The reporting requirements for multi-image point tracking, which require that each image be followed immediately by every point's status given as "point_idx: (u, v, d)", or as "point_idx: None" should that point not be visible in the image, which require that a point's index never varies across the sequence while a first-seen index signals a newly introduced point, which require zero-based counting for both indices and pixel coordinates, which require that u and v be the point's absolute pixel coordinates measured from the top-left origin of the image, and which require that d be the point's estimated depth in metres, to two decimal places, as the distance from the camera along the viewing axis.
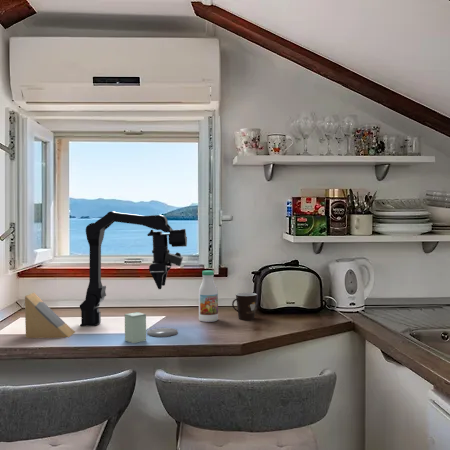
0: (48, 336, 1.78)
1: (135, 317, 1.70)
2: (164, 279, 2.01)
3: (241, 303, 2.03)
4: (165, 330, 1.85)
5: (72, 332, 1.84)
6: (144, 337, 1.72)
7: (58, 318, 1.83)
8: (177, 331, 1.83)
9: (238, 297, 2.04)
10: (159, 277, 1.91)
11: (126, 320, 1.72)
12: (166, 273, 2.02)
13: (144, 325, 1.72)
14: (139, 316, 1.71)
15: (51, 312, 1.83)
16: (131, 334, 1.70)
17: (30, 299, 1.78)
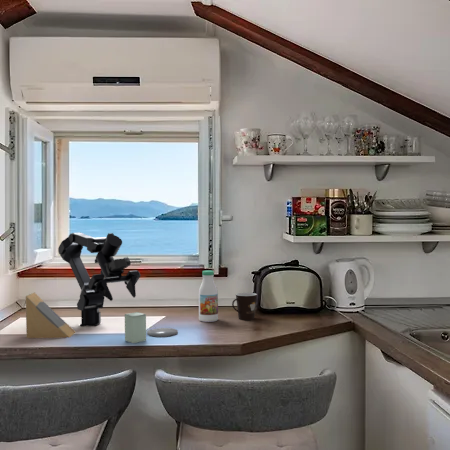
0: (49, 336, 1.78)
1: (135, 317, 1.70)
2: (132, 290, 1.83)
3: (241, 303, 2.03)
4: (165, 330, 1.85)
5: (73, 332, 1.84)
6: (144, 337, 1.72)
7: (59, 318, 1.83)
8: (177, 331, 1.83)
9: (238, 297, 2.04)
10: (104, 289, 1.77)
11: (126, 320, 1.72)
12: (131, 284, 1.84)
13: (144, 325, 1.72)
14: (139, 316, 1.71)
15: (52, 312, 1.83)
16: (131, 334, 1.70)
17: (31, 299, 1.78)
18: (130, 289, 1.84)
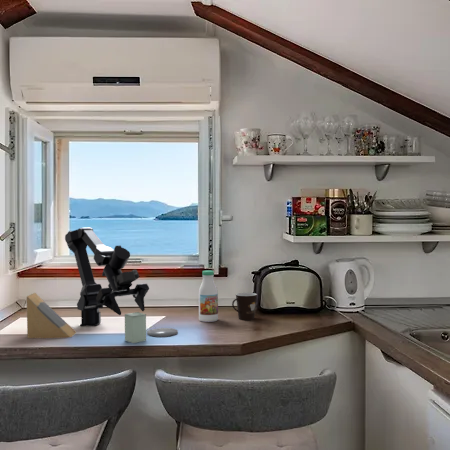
0: (50, 336, 1.78)
1: (135, 317, 1.70)
2: (141, 304, 1.78)
3: (241, 303, 2.03)
4: (165, 330, 1.85)
5: (74, 332, 1.84)
6: (144, 337, 1.72)
7: (59, 318, 1.83)
8: (177, 331, 1.83)
9: (238, 297, 2.04)
10: (112, 303, 1.73)
11: (126, 320, 1.72)
12: (140, 297, 1.79)
13: (144, 325, 1.72)
14: (139, 316, 1.71)
15: (53, 312, 1.83)
16: (131, 334, 1.70)
17: (32, 299, 1.78)
18: (139, 302, 1.80)
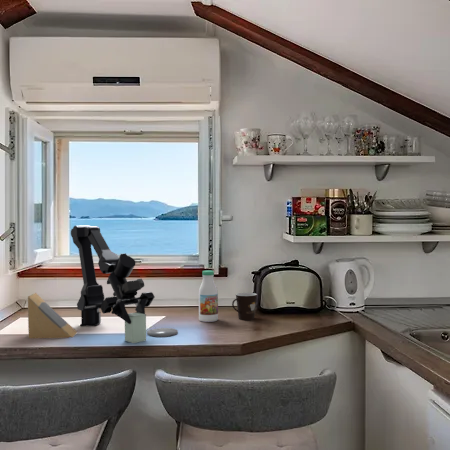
0: (51, 336, 1.78)
1: (135, 317, 1.70)
2: None
3: (241, 303, 2.03)
4: (165, 330, 1.85)
5: (75, 332, 1.84)
6: (144, 337, 1.72)
7: (60, 319, 1.83)
8: (177, 331, 1.83)
9: (238, 297, 2.04)
10: (122, 312, 1.72)
11: None
12: (141, 307, 1.76)
13: (144, 325, 1.72)
14: (139, 316, 1.71)
15: (53, 312, 1.83)
16: (131, 334, 1.70)
17: (33, 299, 1.78)
18: (139, 312, 1.76)
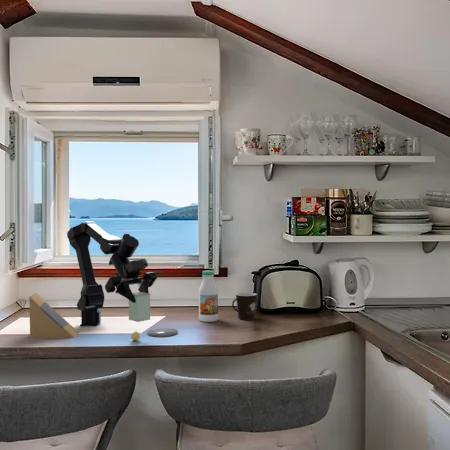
0: (53, 337, 1.77)
1: (140, 296, 1.71)
2: None
3: (241, 303, 2.03)
4: (165, 330, 1.85)
5: (76, 332, 1.84)
6: (148, 316, 1.74)
7: (62, 319, 1.83)
8: (177, 331, 1.83)
9: (238, 297, 2.04)
10: (126, 291, 1.72)
11: None
12: (144, 286, 1.77)
13: (148, 304, 1.73)
14: (143, 295, 1.72)
15: (55, 312, 1.82)
16: (136, 313, 1.71)
17: (34, 299, 1.77)
18: None
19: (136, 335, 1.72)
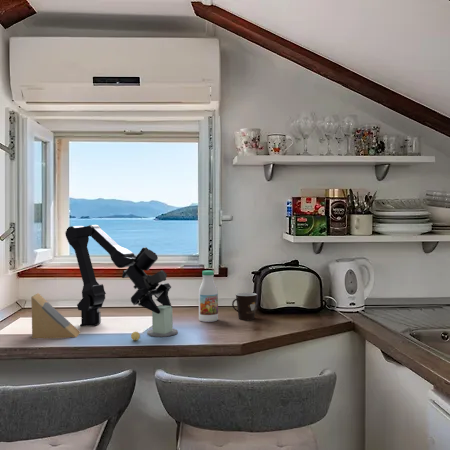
0: (55, 336, 1.77)
1: (166, 309, 1.80)
2: (168, 303, 1.86)
3: (241, 303, 2.03)
4: None
5: (78, 332, 1.84)
6: (171, 327, 1.84)
7: (64, 319, 1.83)
8: (177, 331, 1.83)
9: (238, 297, 2.04)
10: (150, 303, 1.79)
11: (154, 313, 1.81)
12: (166, 296, 1.87)
13: (171, 316, 1.84)
14: (168, 307, 1.82)
15: (57, 312, 1.82)
16: (162, 325, 1.80)
17: (36, 299, 1.77)
18: (164, 302, 1.87)
19: (136, 335, 1.72)
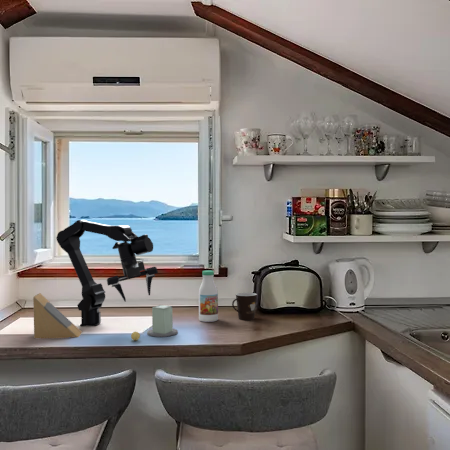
0: (57, 336, 1.77)
1: (166, 309, 1.80)
2: (147, 289, 1.91)
3: (241, 303, 2.03)
4: None
5: (80, 332, 1.84)
6: (171, 327, 1.84)
7: (65, 319, 1.83)
8: (177, 331, 1.83)
9: (238, 297, 2.04)
10: None
11: (154, 313, 1.81)
12: (147, 282, 1.91)
13: (171, 316, 1.84)
14: (168, 307, 1.82)
15: (58, 312, 1.83)
16: (162, 325, 1.80)
17: (38, 299, 1.77)
18: (147, 285, 1.92)
19: (136, 335, 1.72)
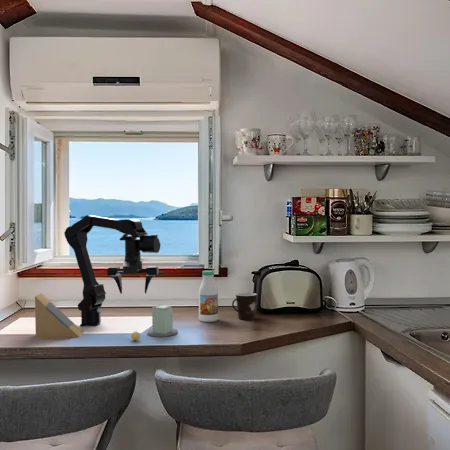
0: (59, 336, 1.78)
1: (166, 309, 1.80)
2: (145, 287, 1.91)
3: (241, 303, 2.03)
4: None
5: (81, 332, 1.84)
6: (171, 327, 1.84)
7: (67, 318, 1.83)
8: (177, 331, 1.83)
9: (238, 297, 2.04)
10: None
11: (154, 313, 1.81)
12: None
13: (171, 316, 1.84)
14: (168, 307, 1.82)
15: (60, 312, 1.83)
16: (162, 325, 1.80)
17: (40, 299, 1.77)
18: None
19: (136, 335, 1.72)
